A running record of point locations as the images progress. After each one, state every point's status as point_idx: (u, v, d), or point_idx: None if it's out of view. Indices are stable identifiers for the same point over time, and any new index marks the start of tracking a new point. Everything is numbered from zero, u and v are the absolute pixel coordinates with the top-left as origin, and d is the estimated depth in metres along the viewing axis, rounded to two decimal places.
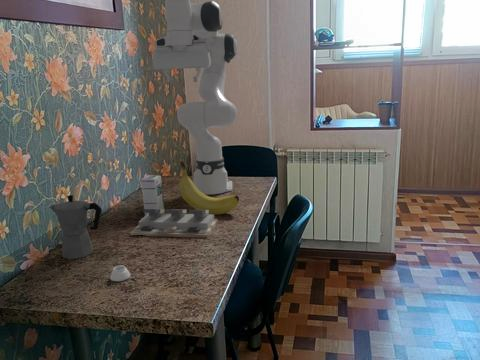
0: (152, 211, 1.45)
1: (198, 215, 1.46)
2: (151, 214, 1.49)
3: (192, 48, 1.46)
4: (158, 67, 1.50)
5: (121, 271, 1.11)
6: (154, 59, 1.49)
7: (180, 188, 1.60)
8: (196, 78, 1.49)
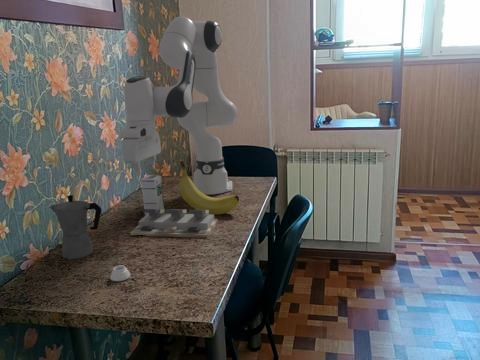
0: (152, 211, 1.45)
1: (198, 215, 1.46)
2: (151, 214, 1.49)
3: (153, 136, 1.41)
4: (137, 160, 1.31)
5: (121, 271, 1.11)
6: (136, 152, 1.29)
7: (180, 188, 1.60)
8: (154, 165, 1.44)
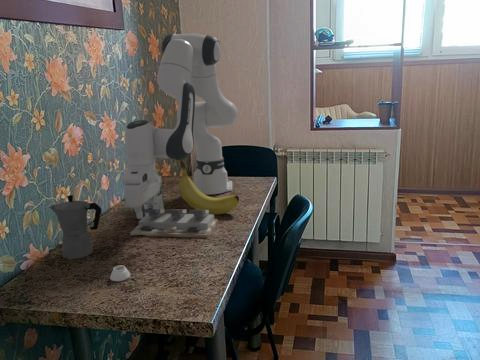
0: (152, 211, 1.45)
1: (198, 215, 1.46)
2: (151, 214, 1.49)
3: (153, 177, 1.43)
4: (140, 205, 1.33)
5: (121, 271, 1.11)
6: (138, 197, 1.31)
7: (180, 188, 1.60)
8: (153, 205, 1.46)
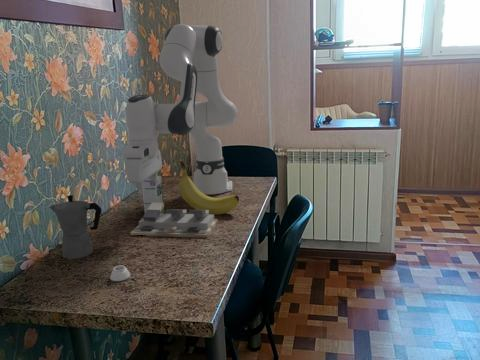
0: (152, 219, 1.45)
1: (198, 215, 1.46)
2: None
3: (155, 153, 1.41)
4: (141, 180, 1.31)
5: (121, 271, 1.11)
6: (140, 172, 1.29)
7: (180, 188, 1.60)
8: (155, 182, 1.45)
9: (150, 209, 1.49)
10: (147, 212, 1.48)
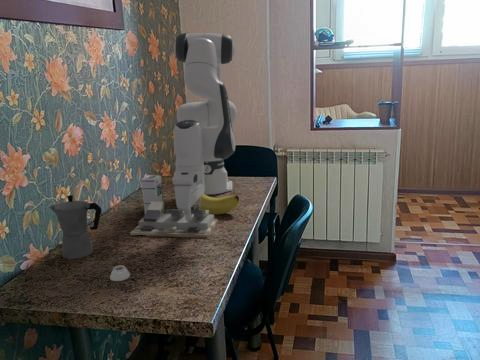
0: (153, 220, 1.45)
1: (198, 215, 1.46)
2: None
3: None
4: (190, 206, 1.30)
5: (121, 271, 1.11)
6: (189, 198, 1.28)
7: None
8: (199, 207, 1.44)
9: (150, 209, 1.49)
10: (147, 213, 1.48)
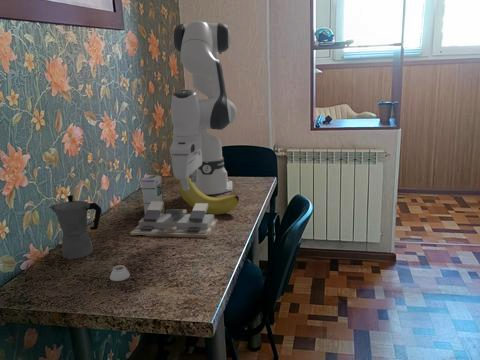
0: (153, 220, 1.46)
1: None
2: None
3: (197, 149, 1.41)
4: (187, 176, 1.30)
5: (121, 271, 1.11)
6: (187, 168, 1.28)
7: (180, 188, 1.60)
8: (197, 178, 1.44)
9: (150, 209, 1.49)
10: (147, 213, 1.48)
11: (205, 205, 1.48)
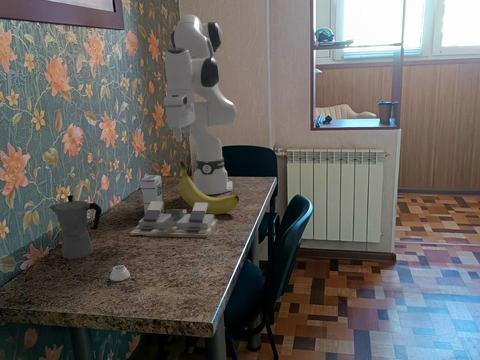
0: (153, 220, 1.46)
1: None
2: None
3: None
4: (180, 126, 1.40)
5: (121, 271, 1.11)
6: (179, 118, 1.38)
7: (180, 188, 1.60)
8: (190, 133, 1.53)
9: (150, 209, 1.49)
10: (147, 213, 1.48)
11: (205, 205, 1.48)
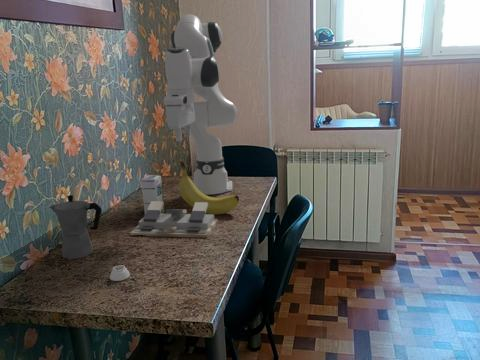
0: (153, 220, 1.46)
1: None
2: None
3: None
4: (180, 126, 1.40)
5: (121, 271, 1.11)
6: (179, 118, 1.38)
7: (180, 188, 1.60)
8: (190, 133, 1.53)
9: (150, 209, 1.49)
10: (147, 213, 1.48)
11: (205, 204, 1.48)
